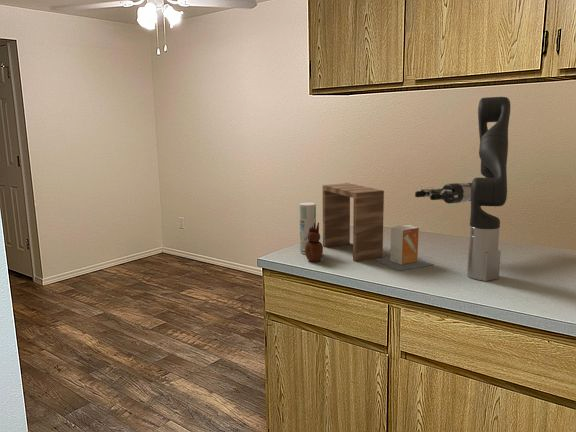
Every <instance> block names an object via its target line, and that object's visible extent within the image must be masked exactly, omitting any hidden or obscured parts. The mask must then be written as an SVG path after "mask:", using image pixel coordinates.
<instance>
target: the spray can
mask: <svg viewBox="0 0 576 432" xmlns="http://www.w3.org/2000/svg"><path fill="white" fill-rule="evenodd" d="M316 216H317V204H316V203H315V202H310V201H309V202H308V201H307V202H301V203H299V241H300V242H299V244H300V246H299V247H300V249H299V250H300V254H301V255H305V256H306V254H305V245H306V243H307V242H308V241H309V240H308V238H307V236H308V233H309V229H310V228H311V227H312V226H313V228H314V223H315V226H316V227H317V217H316Z"/></svg>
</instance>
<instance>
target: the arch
mask: <svg viewBox="0 0 576 432" xmlns="http://www.w3.org/2000/svg"><path fill="white" fill-rule="evenodd" d="M351 198H352V199H353V219H352V220H353V221H352V222H353V227H352V228H353V230H352V231H353V233H352V235H353V236H352V240H353V241H352V243H353V244H352V261H353V262H355V263H357V262H364V261H369V260H375V259H380V258H384V257H383V256H384V253H383V252H384V249H383V247H384V211H385V210H384V208H385V204H384V202H385V191H384V190H382V189H377V188H372V187H368V186H364V185H359V184H354V183H349V182H344V183H334V184H333V183H331V184H322V246H323V248H330V247H336V246H345V245H350V244H351V243H350V242H351V239H350V238H351Z"/></svg>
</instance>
